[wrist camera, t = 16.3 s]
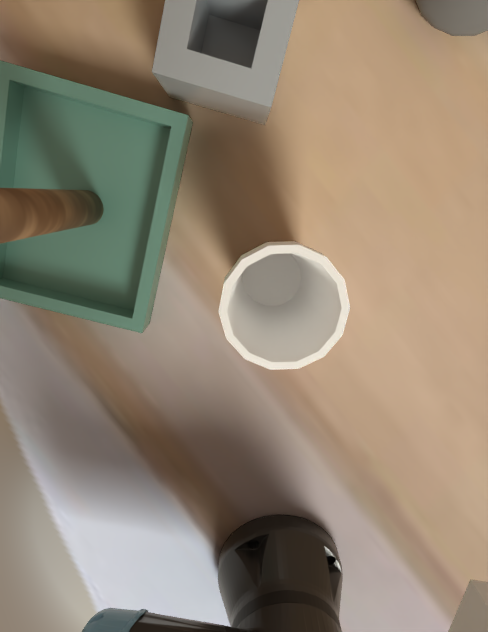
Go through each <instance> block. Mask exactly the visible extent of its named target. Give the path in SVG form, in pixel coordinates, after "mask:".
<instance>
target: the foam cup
mask: <svg viewBox="0 0 488 632" xmlns="http://www.w3.org/2000/svg"><path fill="white" fill-rule="evenodd" d="M349 310H350V305H349V300H348V294H347V289H346V284H345V280H344V278H343V277H342V276H341V275H340V273H339V272H338V271H337V270H336V268H335V267H334V266H333V265H332V263H331V262H330V261H329V259H328V258H327V257H326V256H324V255H323V254H322V253H320V252H318V251H316V250H313V249H311V248H309V247H307V246H305V245H302V244H300V243H298V242H296V241H284V242H266V243H264V244H262V245H260V246H258V247H256V248H254V249H252V250H251V251H249V252H247V253H245V254H243V255H241V257H240V258H239V259H238V261H237V262H236V263H235V265H234V266H233V267H232V269H231V270H230V271H229V273H228V274H227V275H226V277H225V280H224V285H223V291H222V296H221V301H220V306H219V315H220V319H221V322H222V326H223V329H224V333H225V336H226V339H227V340H228V341H229V342H230V343H231V344H232V346H233V347H234V348H235V349H236V350H237V351H238V352H239V353H240V354H241V355H242V357H243V358H244V359H246V360H248V361H251V362H253V363H256V364H258V365H260V366H263V367H265V368H268V369H270V370H275V369H299V368H301V367H303V366H305V365H308V364H310V363H312V362H314V361H316V360H318V359H320V358H322V357H324V356H325V355H326V354H327V353H328V352H329V350H330V349H331V348H332V347H333V346H334V345H335V343H336V342H337V341H338V340H339V339H340V338H341V336H342V335H343V332H344V328H345V324H346V321H347V317H348V314H349Z"/></svg>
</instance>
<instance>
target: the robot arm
mask: <svg viewBox="0 0 488 632" xmlns="http://www.w3.org/2000/svg"><path fill="white" fill-rule="evenodd" d="M218 584H219V590H220V593H221V596H222V600H223V603H224V606H225V609H226V613H227V616H228V619H229V623H230V626H231V627H228V626H224V625H218V624H213V623H207V622H201V621H195V620H189V619H183V618H177V617H171V616H166V615H160V614H155V613H150V612H148V610H146V609H141V610H140V611H136V610H126V609H115V608H108V609H104V610H102V611H100V612H98V613H97V614H95V615H94V616H93V617H92V618H91V619H90V620H89V622H88V623H87V624H86V626H85V627H84V629H83V630H82V632H342V631H341V627H340V622H339V611H340V600H341V589H342V567H341V562H340V559H339V555H338V551H337V548H336V546H335V544H334V542H333V540H332V539H331V537H330V536H329V535H328V534H327V533H326V532H325V531H324V530H323V529H322V528H320V527H319V526H318V525H316V524H314V523H312V522H310V521H308V520H306V519H303V518H299V517H295V516H288V515H273V516H266V517H262V518H258V519H255V520H253V521H251V522H248V523H246V524H245V525H243V526H241V527H240V528H239V529H237V530H236V531H235V532H234V533H233V534H232V535H231V536H230V537H229V538H228V539H227V541H226V542H225V544H224V546H223V548H222V550H221V553H220V557H219V567H218ZM448 632H488V582H483V581H477V580H470V582H469V584H468V587H467V589H466V591H465V594H464V596H463V598H462V601H461V603H460V605H459V608H458V610H457V613H456V615H455V617H454V620H453V622H452V624H451V627H450V629H449V631H448Z"/></svg>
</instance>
